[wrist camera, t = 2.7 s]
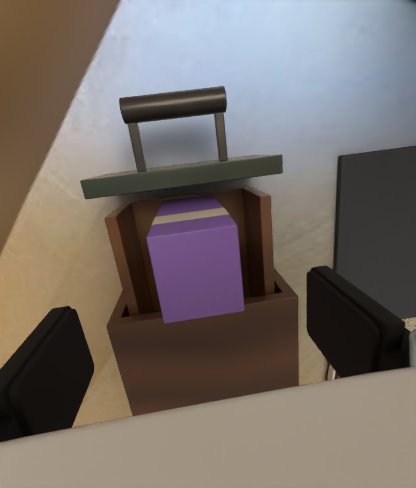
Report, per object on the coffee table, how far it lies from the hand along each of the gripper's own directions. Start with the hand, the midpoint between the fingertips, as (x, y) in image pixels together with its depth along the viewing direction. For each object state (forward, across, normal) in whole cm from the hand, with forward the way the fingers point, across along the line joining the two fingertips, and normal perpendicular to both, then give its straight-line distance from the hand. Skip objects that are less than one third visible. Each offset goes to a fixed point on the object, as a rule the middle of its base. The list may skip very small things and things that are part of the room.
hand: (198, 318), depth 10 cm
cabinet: (+16, 0, +12) cm, 21 cm away
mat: (+16, -23, +5) cm, 29 cm away
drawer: (+15, 0, -1) cm, 15 cm away
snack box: (+14, 0, 0) cm, 14 cm away
